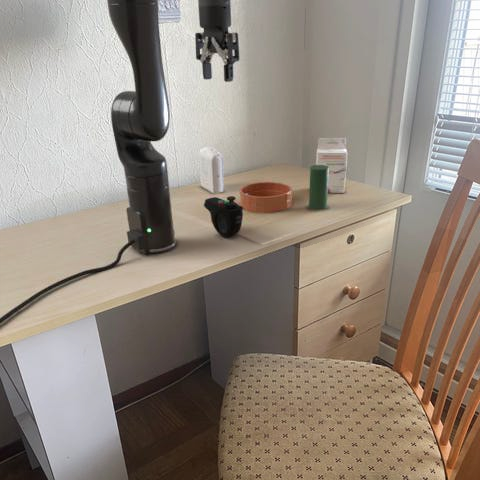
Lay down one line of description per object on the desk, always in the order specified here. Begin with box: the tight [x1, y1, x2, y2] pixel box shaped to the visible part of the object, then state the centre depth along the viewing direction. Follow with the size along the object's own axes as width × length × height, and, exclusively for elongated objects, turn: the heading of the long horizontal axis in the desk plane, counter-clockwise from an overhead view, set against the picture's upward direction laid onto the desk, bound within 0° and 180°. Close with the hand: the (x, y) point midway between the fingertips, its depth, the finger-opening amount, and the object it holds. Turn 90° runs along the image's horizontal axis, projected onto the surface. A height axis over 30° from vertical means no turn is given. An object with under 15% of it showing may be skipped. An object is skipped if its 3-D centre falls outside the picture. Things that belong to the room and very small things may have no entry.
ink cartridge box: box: [315, 137, 348, 194], centre depth 149 cm, size 9×5×15 cm, turn 84°
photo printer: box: [198, 146, 225, 194], centre depth 155 cm, size 10×4×12 cm, turn 28°
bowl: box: [239, 181, 293, 214], centre depth 142 cm, size 14×14×4 cm
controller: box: [203, 195, 245, 238], centre depth 123 cm, size 4×12×10 cm, turn 37°
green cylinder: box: [308, 164, 329, 211], centre depth 137 cm, size 5×5×11 cm
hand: (218, 80), depth 128 cm, fingers open, 8 cm apart
